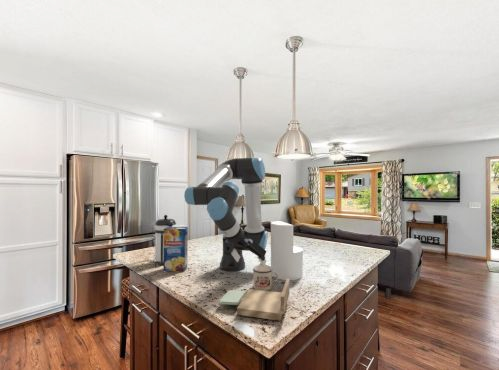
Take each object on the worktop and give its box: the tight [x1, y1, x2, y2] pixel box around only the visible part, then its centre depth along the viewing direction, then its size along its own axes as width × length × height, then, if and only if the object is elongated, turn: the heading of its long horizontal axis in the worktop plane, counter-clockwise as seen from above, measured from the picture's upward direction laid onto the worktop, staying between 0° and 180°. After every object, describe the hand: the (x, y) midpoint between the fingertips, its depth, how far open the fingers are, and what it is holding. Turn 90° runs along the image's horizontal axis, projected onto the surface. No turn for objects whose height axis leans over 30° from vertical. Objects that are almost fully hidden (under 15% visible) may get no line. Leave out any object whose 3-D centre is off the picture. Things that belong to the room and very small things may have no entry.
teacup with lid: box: [252, 263, 278, 291], centre depth 118 cm, size 12×9×12 cm
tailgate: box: [218, 289, 247, 306], centre depth 101 cm, size 2×11×8 cm
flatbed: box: [236, 279, 290, 322], centre depth 97 cm, size 17×18×9 cm
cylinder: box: [270, 220, 304, 281], centre depth 137 cm, size 17×17×28 cm
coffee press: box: [152, 214, 177, 266], centre depth 159 cm, size 17×16×30 cm
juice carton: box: [162, 226, 189, 272], centre depth 144 cm, size 12×8×24 cm, turn 92°
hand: (251, 261), depth 111 cm, fingers open, 13 cm apart
